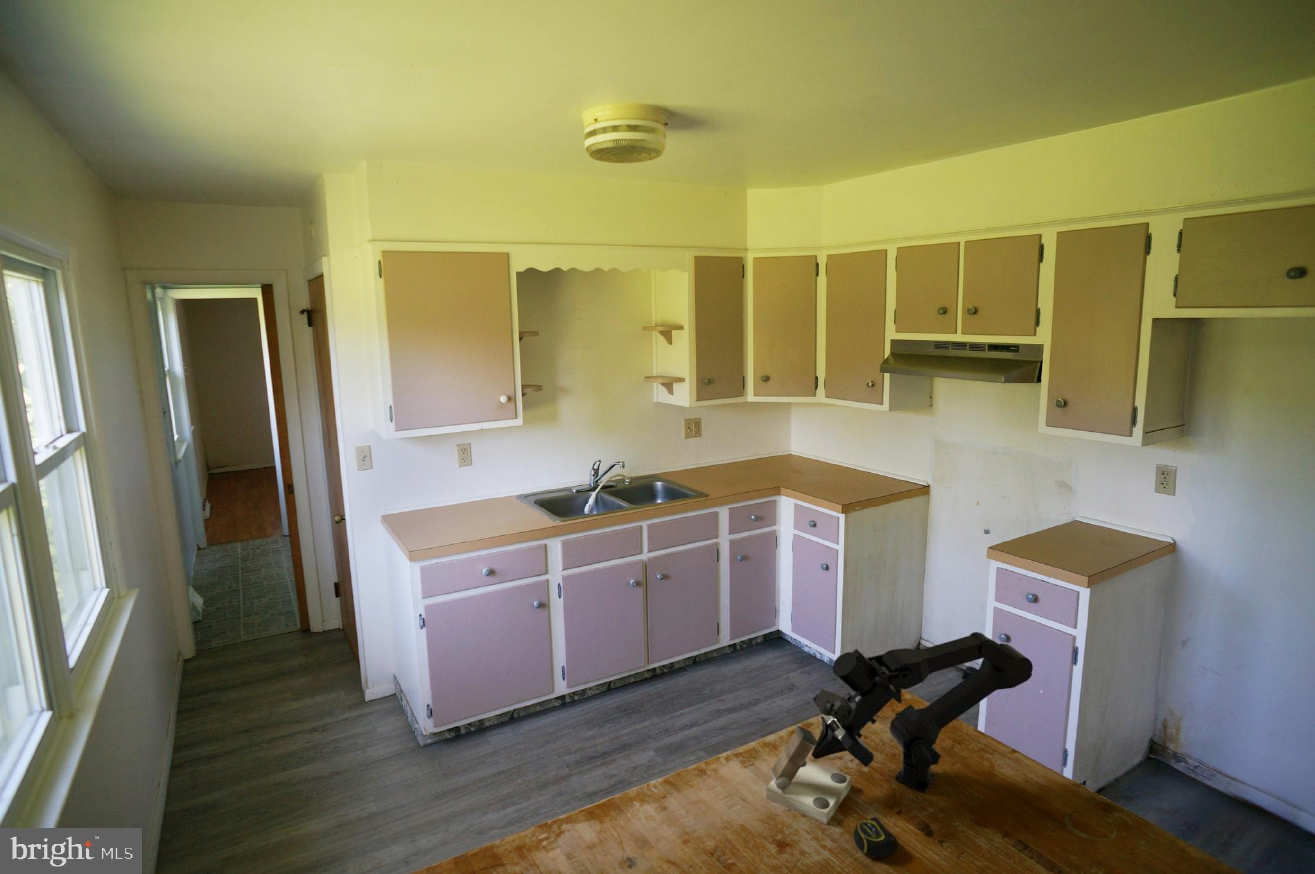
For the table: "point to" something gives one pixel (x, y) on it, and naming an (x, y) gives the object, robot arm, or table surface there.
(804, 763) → the stool seat
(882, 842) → the tape measure
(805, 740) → the folding leg
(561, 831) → the table surface
